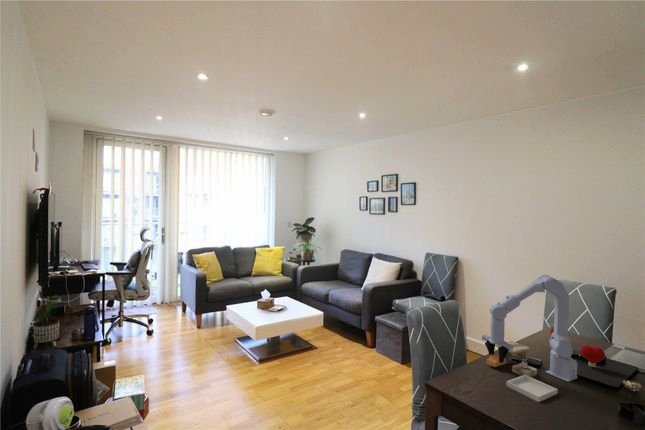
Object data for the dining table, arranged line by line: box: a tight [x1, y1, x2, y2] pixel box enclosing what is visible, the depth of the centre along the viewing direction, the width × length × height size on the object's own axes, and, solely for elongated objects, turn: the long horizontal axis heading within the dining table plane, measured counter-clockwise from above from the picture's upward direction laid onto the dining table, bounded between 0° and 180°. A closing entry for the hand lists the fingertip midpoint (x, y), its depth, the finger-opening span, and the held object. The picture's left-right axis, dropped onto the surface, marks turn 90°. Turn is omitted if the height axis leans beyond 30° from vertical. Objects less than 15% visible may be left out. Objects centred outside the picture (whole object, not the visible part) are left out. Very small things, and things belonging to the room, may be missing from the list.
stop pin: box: [521, 359, 528, 370], centre depth 153 cm, size 2×2×6 cm
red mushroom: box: [580, 344, 606, 368], centre depth 160 cm, size 9×7×10 cm
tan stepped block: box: [486, 353, 507, 368], centre depth 159 cm, size 8×4×4 cm, turn 119°
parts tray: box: [505, 375, 559, 403], centre depth 138 cm, size 13×13×2 cm
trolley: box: [495, 340, 530, 365], centre depth 164 cm, size 9×14×7 cm, turn 118°
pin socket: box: [511, 362, 538, 378], centre depth 153 cm, size 7×7×2 cm
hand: (496, 360), depth 159 cm, fingers closed on tan stepped block, 4 cm apart
